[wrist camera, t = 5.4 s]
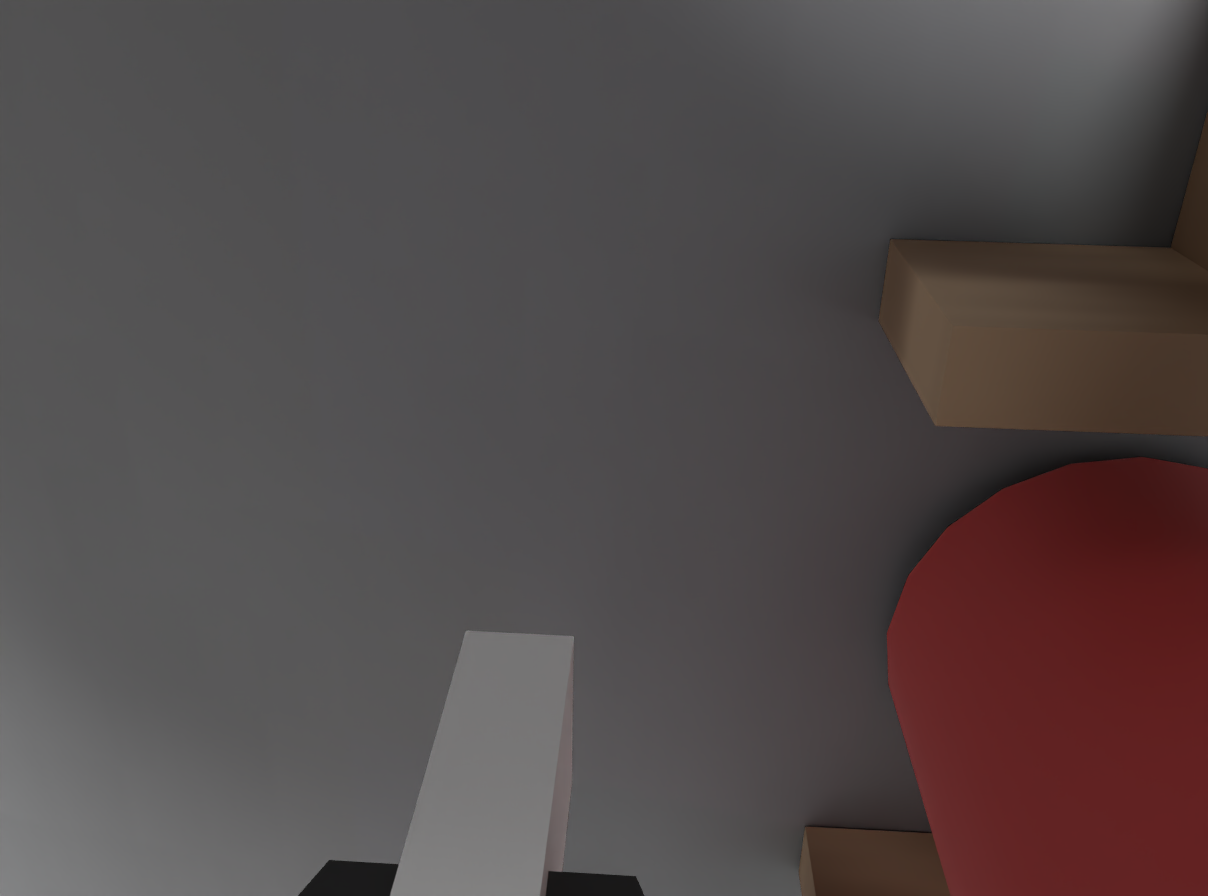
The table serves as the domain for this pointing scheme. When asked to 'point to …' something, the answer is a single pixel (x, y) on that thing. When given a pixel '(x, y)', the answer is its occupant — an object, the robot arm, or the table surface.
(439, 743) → the robot arm
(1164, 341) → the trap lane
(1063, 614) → the beer can
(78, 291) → the table surface
